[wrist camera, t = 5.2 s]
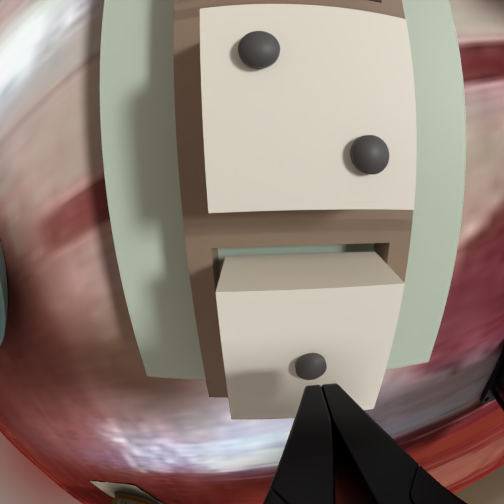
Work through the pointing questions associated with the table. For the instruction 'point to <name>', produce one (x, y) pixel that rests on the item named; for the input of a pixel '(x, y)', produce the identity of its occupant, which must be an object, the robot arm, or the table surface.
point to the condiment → (125, 493)
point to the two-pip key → (307, 109)
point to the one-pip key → (305, 328)
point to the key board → (258, 222)
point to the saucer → (3, 295)
